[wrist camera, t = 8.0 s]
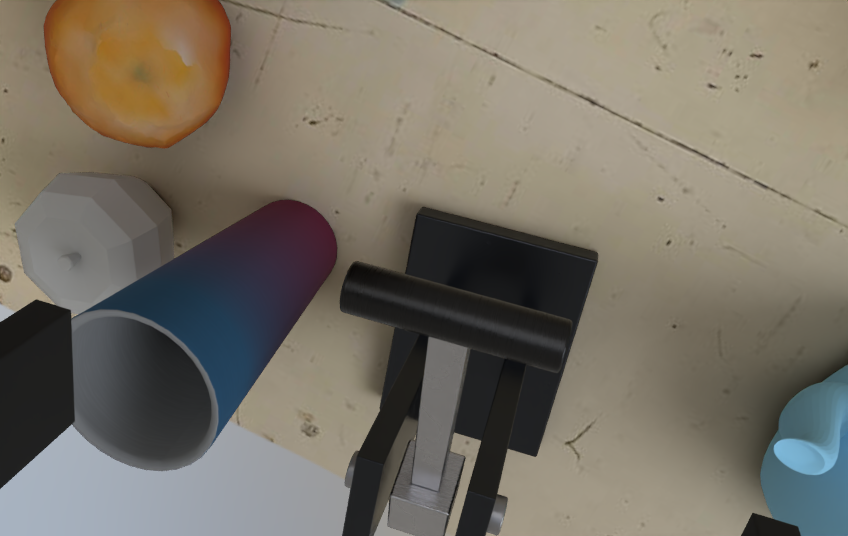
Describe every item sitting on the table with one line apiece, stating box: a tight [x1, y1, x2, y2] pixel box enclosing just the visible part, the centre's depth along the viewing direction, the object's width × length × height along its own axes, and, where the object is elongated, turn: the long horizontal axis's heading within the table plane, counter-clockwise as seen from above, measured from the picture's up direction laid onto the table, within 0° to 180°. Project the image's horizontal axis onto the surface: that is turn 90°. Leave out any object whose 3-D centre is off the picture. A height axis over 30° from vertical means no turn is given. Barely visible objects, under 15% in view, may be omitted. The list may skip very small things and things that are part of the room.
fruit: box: [44, 0, 231, 148], centre depth 35 cm, size 8×8×8 cm
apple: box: [15, 172, 174, 314], centre depth 39 cm, size 8×8×7 cm
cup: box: [71, 200, 337, 471], centre depth 34 cm, size 7×7×15 cm
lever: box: [340, 261, 572, 536], centre depth 24 cm, size 13×6×2 cm, turn 169°
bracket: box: [342, 207, 598, 536], centre depth 33 cm, size 12×9×15 cm
